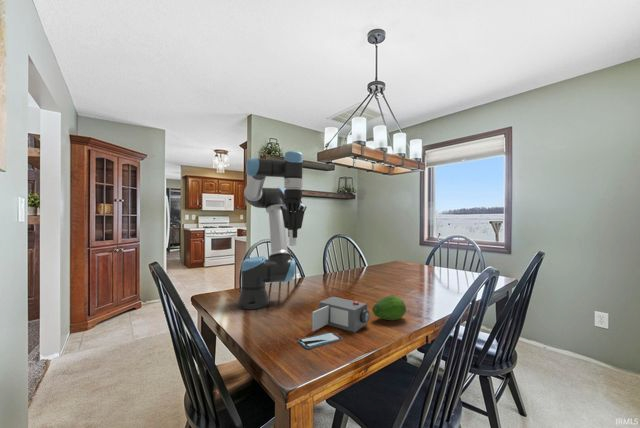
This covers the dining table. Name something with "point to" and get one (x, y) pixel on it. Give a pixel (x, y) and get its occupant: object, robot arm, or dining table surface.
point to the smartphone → (319, 340)
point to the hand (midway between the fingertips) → (292, 245)
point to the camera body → (346, 313)
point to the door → (320, 318)
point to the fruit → (389, 308)
